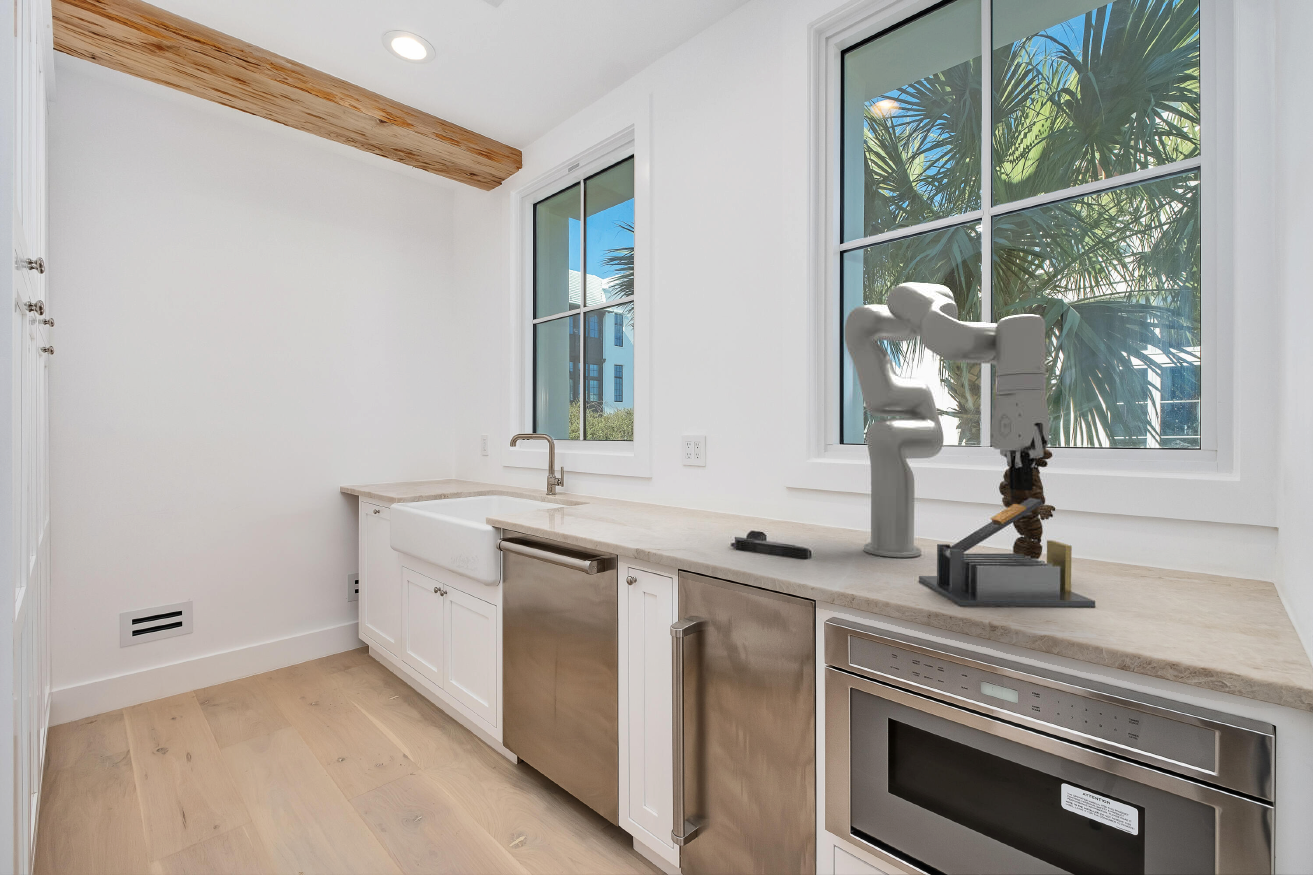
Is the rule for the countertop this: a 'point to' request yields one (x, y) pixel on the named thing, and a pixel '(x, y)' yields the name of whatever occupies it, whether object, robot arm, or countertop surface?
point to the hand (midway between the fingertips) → (1020, 489)
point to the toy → (1029, 522)
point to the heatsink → (1006, 578)
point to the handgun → (769, 546)
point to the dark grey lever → (995, 525)
